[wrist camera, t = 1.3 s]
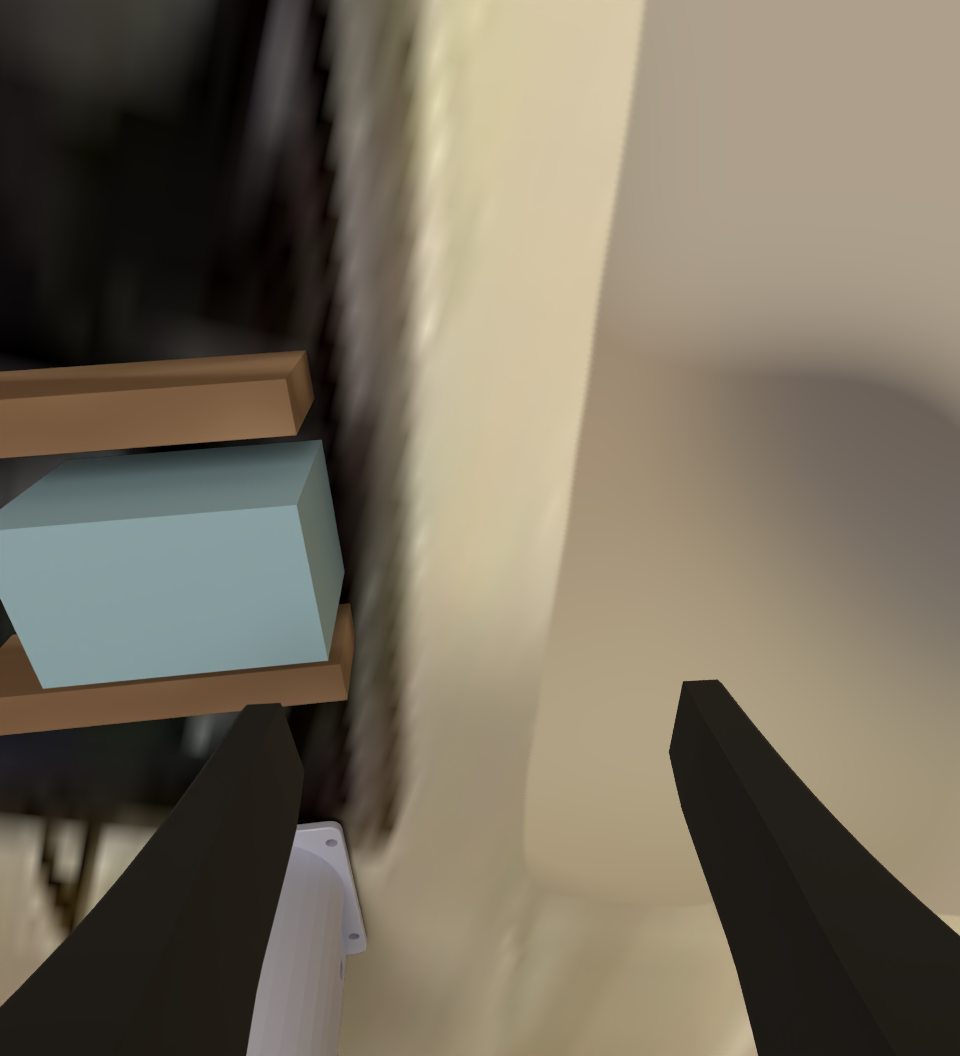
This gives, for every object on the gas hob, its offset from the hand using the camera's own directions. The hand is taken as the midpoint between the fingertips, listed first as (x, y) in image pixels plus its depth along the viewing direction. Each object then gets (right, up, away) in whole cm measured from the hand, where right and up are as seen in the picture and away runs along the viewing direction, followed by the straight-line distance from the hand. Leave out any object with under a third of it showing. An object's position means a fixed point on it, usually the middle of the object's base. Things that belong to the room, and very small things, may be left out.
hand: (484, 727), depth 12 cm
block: (-9, +4, +10) cm, 14 cm away
